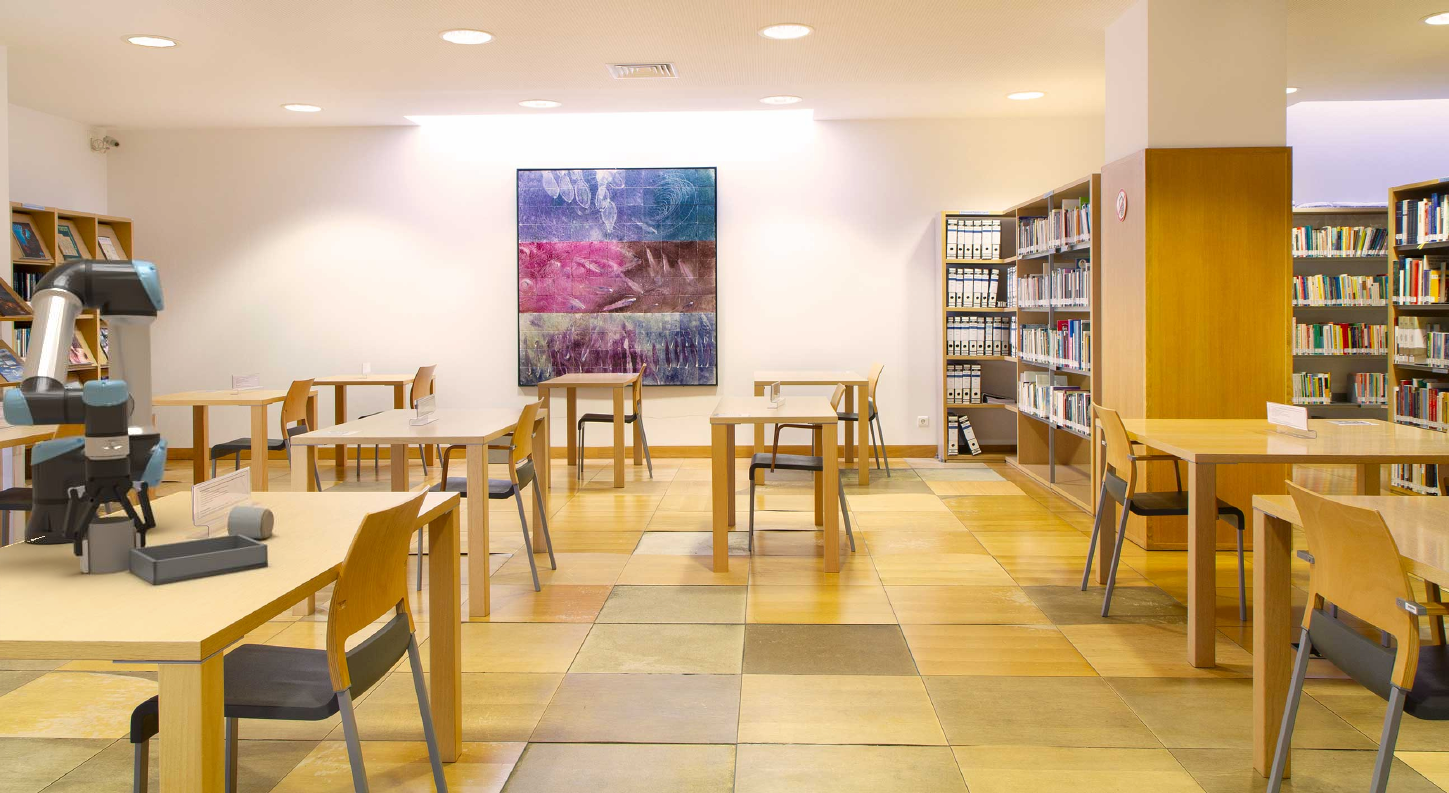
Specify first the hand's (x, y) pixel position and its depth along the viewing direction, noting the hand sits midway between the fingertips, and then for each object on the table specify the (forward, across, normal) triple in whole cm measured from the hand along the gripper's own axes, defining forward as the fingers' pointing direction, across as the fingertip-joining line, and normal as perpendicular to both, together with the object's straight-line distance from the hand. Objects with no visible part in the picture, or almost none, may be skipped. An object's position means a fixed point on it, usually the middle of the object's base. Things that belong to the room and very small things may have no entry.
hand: (111, 567), depth 192 cm
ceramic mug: (+1, +32, +11) cm, 34 cm away
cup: (+1, 0, 0) cm, 1 cm away
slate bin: (0, +12, -12) cm, 18 cm away
